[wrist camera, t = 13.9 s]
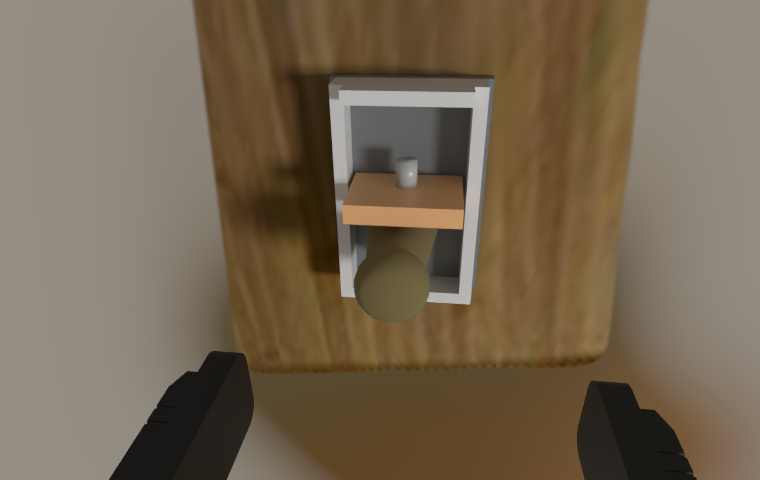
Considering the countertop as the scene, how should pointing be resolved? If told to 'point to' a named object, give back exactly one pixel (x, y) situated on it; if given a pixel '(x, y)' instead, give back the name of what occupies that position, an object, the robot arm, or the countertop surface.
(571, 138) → the countertop surface
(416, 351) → the countertop surface
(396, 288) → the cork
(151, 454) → the robot arm
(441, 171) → the white walled tray
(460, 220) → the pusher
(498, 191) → the countertop surface
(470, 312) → the countertop surface
